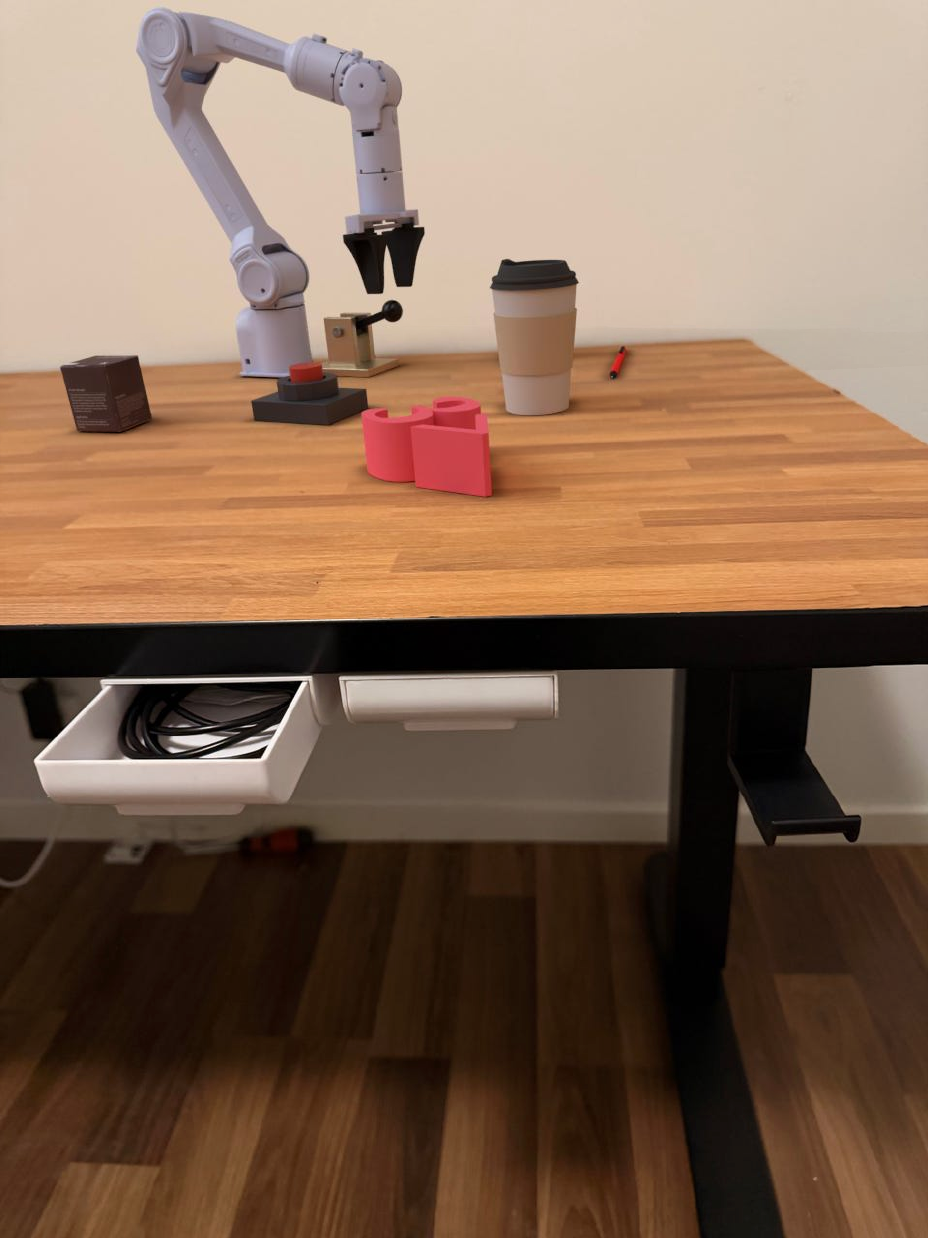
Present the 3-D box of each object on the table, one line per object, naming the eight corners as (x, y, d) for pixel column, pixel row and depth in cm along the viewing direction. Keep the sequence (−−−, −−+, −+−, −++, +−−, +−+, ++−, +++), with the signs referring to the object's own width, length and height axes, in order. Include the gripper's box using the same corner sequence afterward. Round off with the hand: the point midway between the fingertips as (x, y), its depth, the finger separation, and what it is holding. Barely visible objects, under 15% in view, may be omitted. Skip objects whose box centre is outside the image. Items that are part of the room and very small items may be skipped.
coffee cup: (590, 399, 99) (590, 252, 92) (563, 419, 91) (561, 261, 85) (514, 397, 102) (509, 255, 96) (482, 415, 95) (474, 264, 88)
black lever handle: (409, 316, 118) (402, 295, 118) (399, 319, 116) (391, 298, 115) (350, 340, 124) (342, 320, 123) (339, 344, 122) (331, 323, 121)
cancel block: (254, 420, 100) (248, 383, 98) (296, 404, 106) (291, 369, 104) (328, 425, 95) (323, 387, 94) (368, 408, 102) (364, 372, 100)
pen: (626, 352, 125) (627, 344, 124) (615, 380, 108) (616, 371, 107) (620, 352, 125) (620, 344, 124) (608, 380, 108) (608, 371, 108)
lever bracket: (399, 365, 125) (394, 310, 122) (368, 377, 119) (362, 319, 116) (339, 363, 129) (333, 310, 126) (306, 374, 123) (299, 319, 120)
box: (154, 420, 103) (140, 354, 100) (119, 433, 98) (104, 364, 95) (110, 419, 105) (95, 354, 102) (75, 432, 100) (58, 364, 97)
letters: (541, 484, 72) (540, 422, 70) (428, 509, 68) (422, 445, 66) (461, 448, 84) (457, 394, 82) (359, 468, 80) (353, 411, 78)
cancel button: (284, 384, 98) (282, 368, 98) (303, 377, 101) (301, 361, 101) (311, 385, 97) (309, 368, 96) (330, 378, 100) (328, 362, 99)
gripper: (376, 172, 103) (387, 296, 109) (435, 170, 115) (443, 282, 120) (325, 176, 106) (339, 297, 112) (388, 173, 118) (398, 283, 124)
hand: (390, 290), depth 116 cm, fingers open, 7 cm apart
